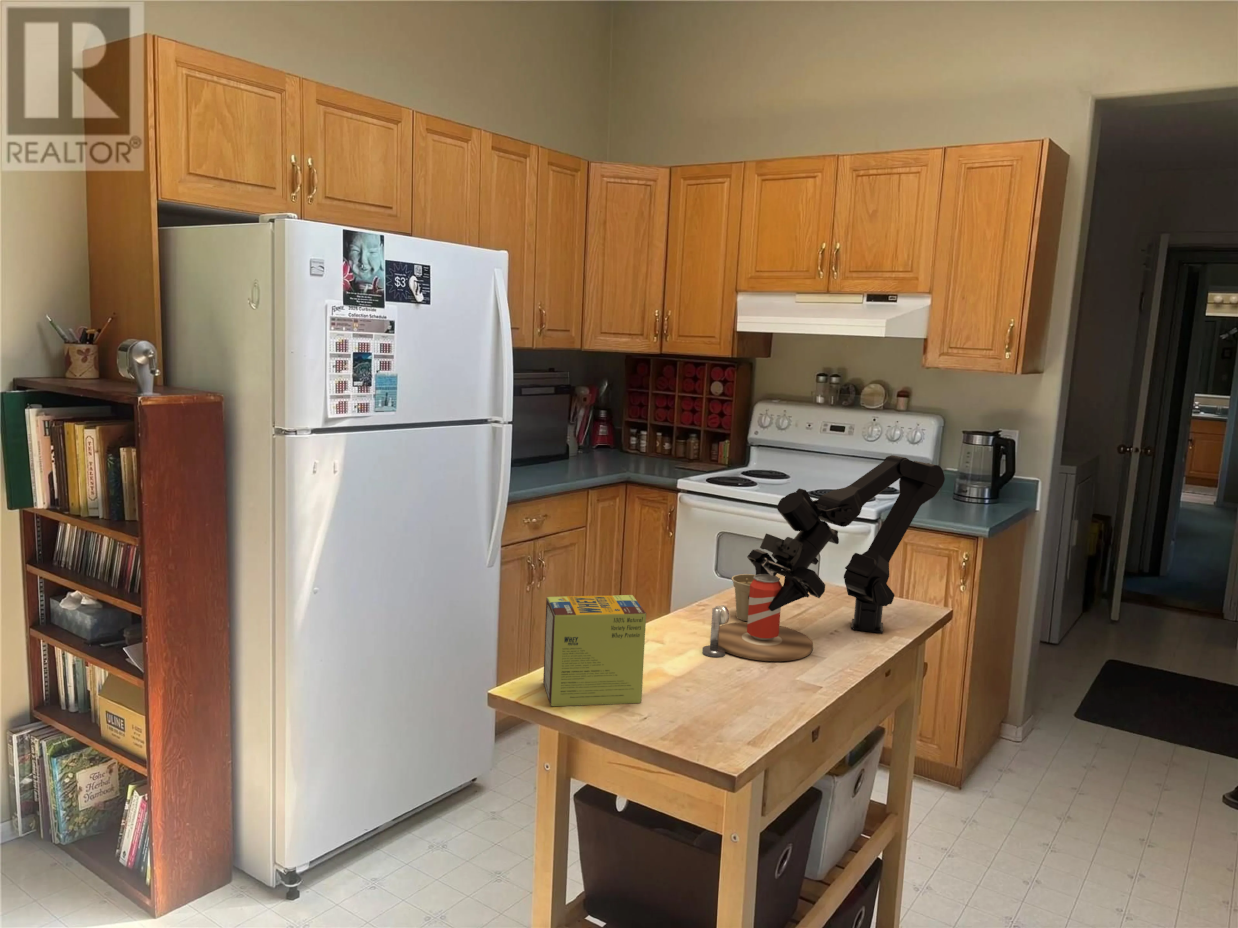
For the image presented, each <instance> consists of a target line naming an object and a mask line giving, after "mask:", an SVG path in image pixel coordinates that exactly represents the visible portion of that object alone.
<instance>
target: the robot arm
mask: <svg viewBox="0 0 1238 928" xmlns="http://www.w3.org/2000/svg"><path fill="white" fill-rule="evenodd" d="M945 480H946V478H945V473H944V470H943V468H942V467H941V466H940V465H937V464H933V463H927V462H924V461H923V462H922V461H918V460H911V459H909V458H908V457H903V456H900V455H894V454H893V455H892V454H891V455H888V456H886V457H885V458H884V460H883V461H882V462H881V463H879V464H878V465H877V466H875V467H873V468H872V469H871V470H869V471H868V472H867V473H865V474H864V475H862V476H860V477H859V478H858V479H857V480H855V481H854V482H852V483H850V485H847V486H846V487H842V488H837V489H833V490H831V491H828V492H826V493H824V494H823V495H821V496H819V498H818V499H815V500H813V499H812V497H811V496H810V493H808V491H807V490H806V489H803V488H798V489H797V490H796V491H793V492H790V493H789V494H787V495H785V496H784V497H782V498H780V499H779V502H778V503H777V512H778V513H779V514H780V515H781V517H782V518H783V519H784V520H785V521H786V523H787V524H788V525H789V526H790V528H791V529H792V530H793V531H795V532H798V533H797V534H796V536H795V537H794V538H793V537H790V536H786V537H785V539H782V538H780V537H777V536H776V535H772V534H769V533H765V534H764V537H763V540H762V542H761V544H760V546H759V549H758V548H757V549H756V548H755V549H752V550H751V552H750V553H748V555H747V556H746V557H747V559H748V560H749V562H751V564H752V565H753V567H754V569H755V575H759V574H768V575H773V576H777V575H778V574H779V575H781V576H782V577H784V581H783V584H782V588H781V589H780V591H779V592H778V593H777V595H776V596H775V598H774V599H773V600H772V602H771V604H770V605H769V607H768V608H769V610H770V611H774V610H776V609H778V608H780V607H781V608H782V607H784V606H787V605H789V604H791V603H793V602H795V601H798V600H801V599H804V598H809V597H810V596H813V597H815V598H816V599H817V598H818V599H820V598H822V595H824V593H825V591H826V584H825V582H824V581H823V580H822V579H821V577H820V576H819V575H818V574H817V573H816V571H815V570H813V569H810V568H809V567H810V566H811V565H817V564H818V563H819V560H818V558H817V557H818V556H819V554H820V553H821V552H823V551H822V550H823V549H824V548H825V547H826V545H827V544H828V543H832V544H834V545H838V544H839V542H840V539H839V536H838V535H839V531H838V529H833V528H831V526H830V524H832V525H834V526H838V527H842V528H845V527H847V526H849V525H850V524H851V523H853V521H855V520H856V519H857V518H858V517H859V516H860V514H861V513H862V508H863V507H864V505H865V504H867V503H868V502H870V501H871V500H872V499H873V498H875V497H876V496H877V495H879V494H881V493H882V492H883V491H885V490H886V489H887V488H889V487H890V486H891V485H893V484H894V483H896V482H897V481H898V488H899V489H898V490H899V493H898V494H899V495H898V496H897V497H896V500H895V502H894V504H893V505H892V507H891V509H890V510H889V512H888V514H887V515H886V517H885V519H884V521H883V523H882V524H881V526H880V528H879V529H878V531H877V533H876V535H875V537H874V539H873V541H872V542H871V543H870V545H869V547H868V549H867V550H866V551H865V552H863V553H862V554H861V553H857V552H854V553H853V555H852V556H851V558H850V561H849V562H848V564H847V565H846V566H845V567H844V570H845V572H844V574H843V579H844V585H845V588H846V592H847V595H848V596H850V597H852V598H855V600H854V601H855V602H854V603H855V604H854V613H853V614H854V616H853V618H852V619H851V623H850V624H851V625H850V629H851V630H854V631H861V632H868V633H869V632H870V633H878V634H883V633H884V623H883V621H882V619H883V610H884V609H883V608H884V607H887V606H888V605H892V603H893V601H894V599H895V598H894V597H896V596H895V593H894V592H893V591H892V589H891V588H890V587H889V585H888V580H889V579H890V561H891V559H892V558H893V556H894V554H895V552H896V550H897V548H898V547H899V545H900V543H901V542H902V540H903V538H904V537H905V534H906V533H907V531H908V529H909V527H910V526H911V524H912V522H913V520H914V519H915V516H916V515H917V513H918V511H919V510H920V508H921V507H922V505H924V504H925V503H927V502H929V501H930V500H932V499H933V498H934V497H935V496H937V494H938V492H939V491H940V490H941V488H942V487H943V485H944V483H945ZM764 550H766V551H764ZM767 551H768V552H771V553H772V554H771V555H770V554H769V553H768V552H767ZM748 599H749V596H748Z"/></svg>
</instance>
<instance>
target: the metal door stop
mask: <svg viewBox="0 0 1238 928" xmlns="http://www.w3.org/2000/svg"><path fill="white" fill-rule="evenodd" d="M729 621H730V612H729V609H728V607H727V606H726V605H715V607H713V608H712V611H711V624H710V625H711V626H710V627H711V628H710V641H709V644H708V645H705V646H703V647H702V651H701V653H702V654H703V655H704V656H706V657H710V658H722V657H725V656H726V652H725V649H724V648H722V647H720V646H718V645H719V630H720V626H722V625H725V624H729Z"/></svg>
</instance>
